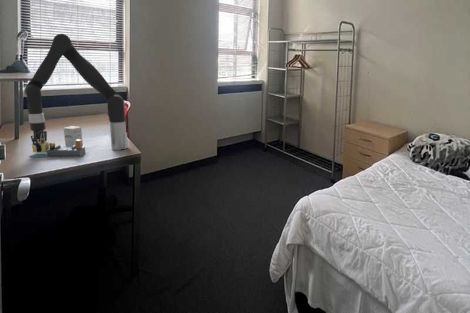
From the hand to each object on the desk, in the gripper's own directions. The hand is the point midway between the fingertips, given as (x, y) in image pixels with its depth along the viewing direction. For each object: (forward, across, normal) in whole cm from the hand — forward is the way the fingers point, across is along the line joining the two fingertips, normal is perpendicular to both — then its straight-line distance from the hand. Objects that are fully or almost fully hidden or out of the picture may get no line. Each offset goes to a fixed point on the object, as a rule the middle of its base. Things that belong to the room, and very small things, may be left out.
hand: (41, 150), depth 192 cm
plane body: (+3, 0, -14) cm, 14 cm away
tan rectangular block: (0, 0, 0) cm, 0 cm away
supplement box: (+3, +19, -11) cm, 22 cm away
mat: (+3, 0, 0) cm, 3 cm away
